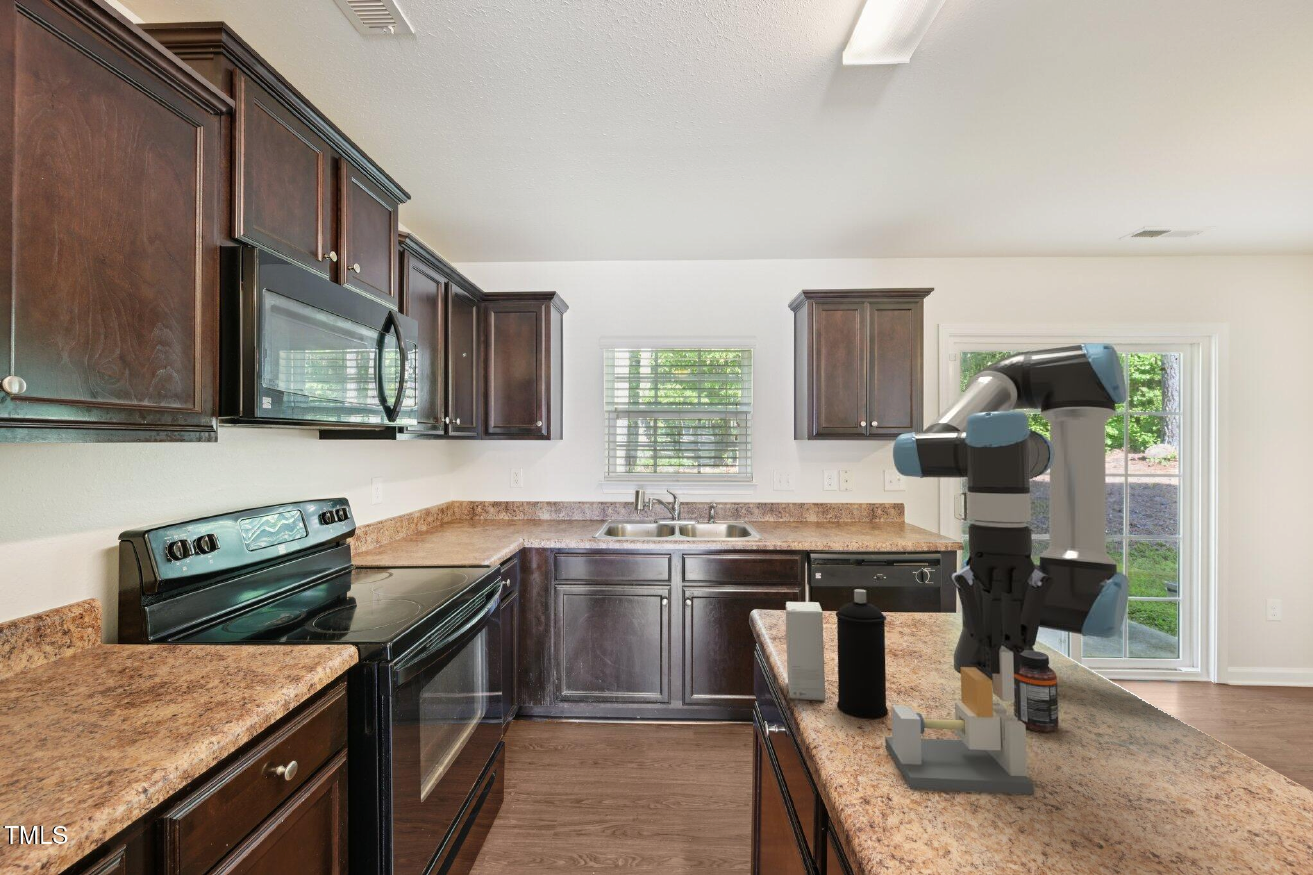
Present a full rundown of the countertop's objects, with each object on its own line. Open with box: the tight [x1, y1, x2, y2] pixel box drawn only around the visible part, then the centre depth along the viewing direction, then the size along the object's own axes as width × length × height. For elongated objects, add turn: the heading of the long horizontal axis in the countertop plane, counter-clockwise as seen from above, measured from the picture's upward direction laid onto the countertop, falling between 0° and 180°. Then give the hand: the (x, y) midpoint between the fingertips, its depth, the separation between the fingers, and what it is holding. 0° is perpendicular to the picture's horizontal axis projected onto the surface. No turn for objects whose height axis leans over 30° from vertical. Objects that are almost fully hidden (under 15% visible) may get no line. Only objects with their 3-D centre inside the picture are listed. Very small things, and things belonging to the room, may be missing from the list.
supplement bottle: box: [1013, 650, 1059, 733], centre depth 93 cm, size 6×6×11 cm
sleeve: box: [954, 667, 1001, 751], centre depth 80 cm, size 4×5×9 cm
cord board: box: [884, 699, 1034, 796], centre depth 80 cm, size 15×11×8 cm
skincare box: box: [785, 601, 826, 701], centre depth 107 cm, size 8×7×16 cm
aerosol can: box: [835, 588, 889, 720], centre depth 100 cm, size 8×8×20 cm
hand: (1003, 697), depth 80 cm, fingers closed
